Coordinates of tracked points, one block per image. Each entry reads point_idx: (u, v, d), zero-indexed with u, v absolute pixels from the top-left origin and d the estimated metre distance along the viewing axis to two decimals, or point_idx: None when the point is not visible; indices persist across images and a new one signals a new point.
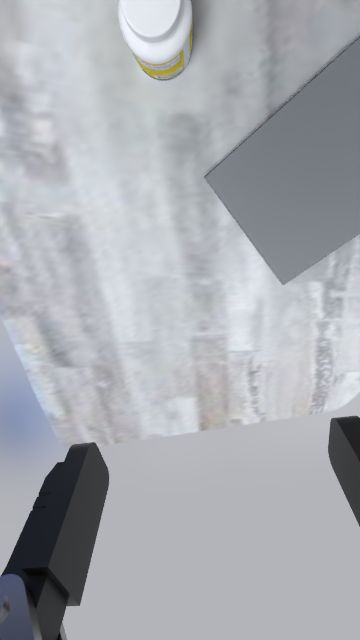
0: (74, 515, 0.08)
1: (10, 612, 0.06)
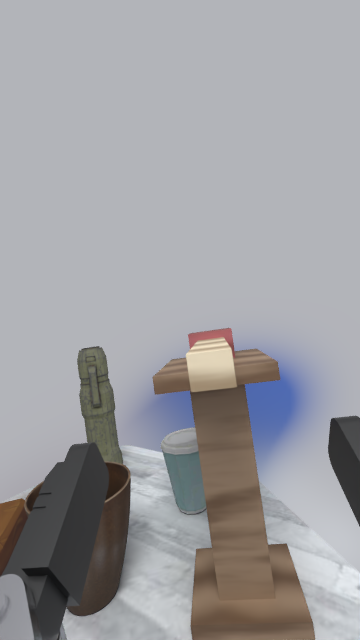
0: (74, 515, 0.08)
1: (10, 612, 0.06)
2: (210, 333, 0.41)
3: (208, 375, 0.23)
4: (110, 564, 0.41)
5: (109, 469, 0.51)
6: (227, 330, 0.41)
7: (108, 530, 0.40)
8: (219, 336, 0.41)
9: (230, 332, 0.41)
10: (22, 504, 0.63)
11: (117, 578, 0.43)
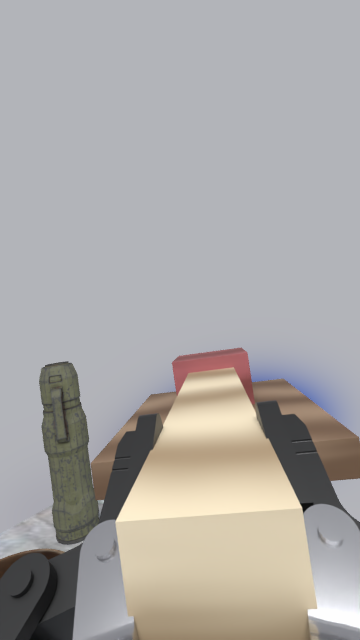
0: None
1: None
2: (210, 360, 0.24)
3: (207, 614, 0.06)
4: None
5: None
6: (240, 355, 0.23)
7: None
8: (226, 366, 0.23)
9: (246, 359, 0.23)
10: None
11: None
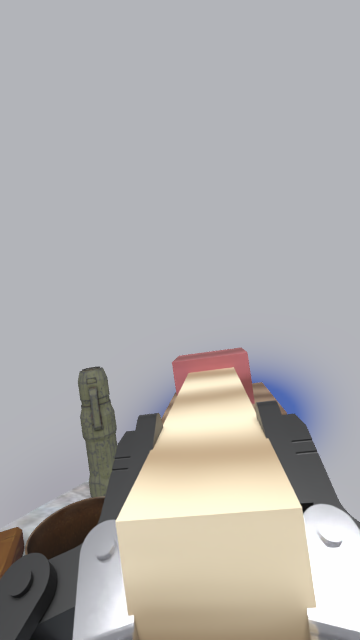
0: None
1: None
2: (211, 360, 0.24)
3: (207, 613, 0.06)
4: None
5: None
6: (240, 355, 0.23)
7: None
8: (226, 366, 0.23)
9: (246, 359, 0.23)
10: (18, 533, 0.63)
11: None
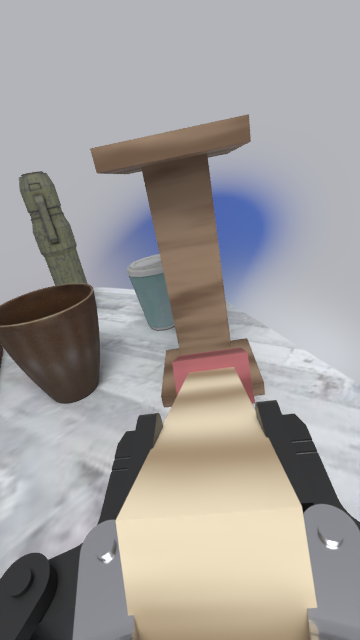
0: None
1: None
2: (211, 360, 0.24)
3: (207, 612, 0.06)
4: (85, 364, 0.44)
5: (73, 290, 0.49)
6: (240, 355, 0.23)
7: (76, 335, 0.41)
8: (226, 365, 0.23)
9: (246, 358, 0.23)
10: None
11: (95, 375, 0.47)
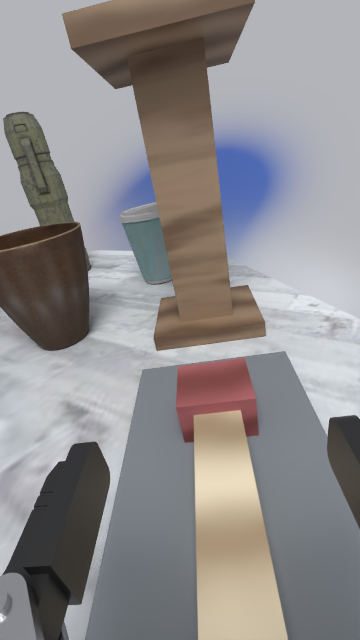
0: (75, 514, 0.08)
1: (12, 610, 0.06)
2: (217, 405, 0.22)
3: None
4: (72, 305, 0.41)
5: (59, 231, 0.46)
6: (248, 401, 0.22)
7: (61, 270, 0.37)
8: (233, 409, 0.22)
9: (254, 403, 0.22)
10: None
11: (84, 321, 0.44)
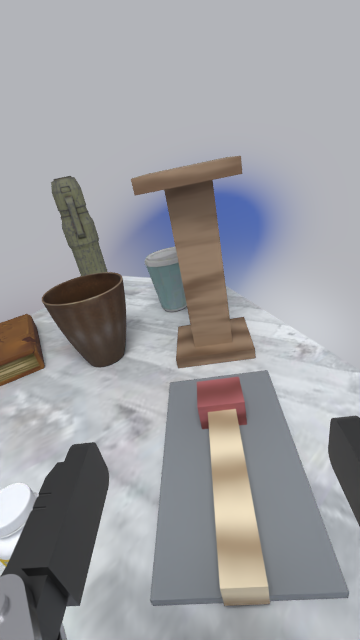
0: (74, 515, 0.08)
1: (10, 612, 0.06)
2: (221, 406, 0.38)
3: (242, 598, 0.23)
4: (117, 335, 0.56)
5: (104, 278, 0.62)
6: (240, 403, 0.38)
7: (111, 312, 0.53)
8: (231, 408, 0.38)
9: (243, 404, 0.38)
10: (29, 317, 0.79)
11: (123, 345, 0.60)
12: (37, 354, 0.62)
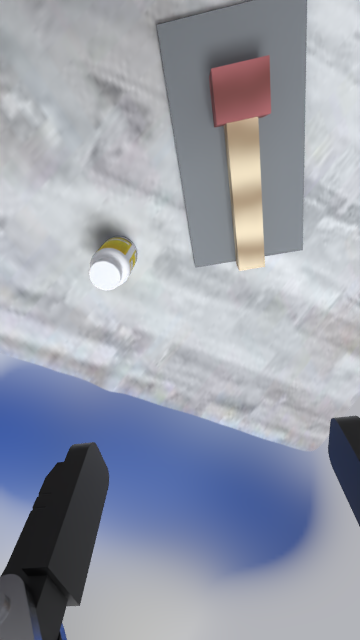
0: (74, 515, 0.08)
1: (10, 612, 0.06)
2: (244, 118, 0.33)
3: None
4: None
5: None
6: (265, 114, 0.33)
7: None
8: (253, 117, 0.34)
9: (268, 113, 0.33)
10: None
11: None
12: None
